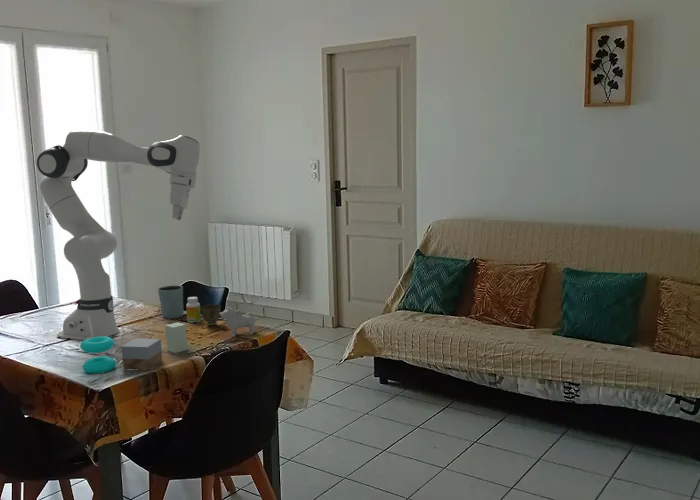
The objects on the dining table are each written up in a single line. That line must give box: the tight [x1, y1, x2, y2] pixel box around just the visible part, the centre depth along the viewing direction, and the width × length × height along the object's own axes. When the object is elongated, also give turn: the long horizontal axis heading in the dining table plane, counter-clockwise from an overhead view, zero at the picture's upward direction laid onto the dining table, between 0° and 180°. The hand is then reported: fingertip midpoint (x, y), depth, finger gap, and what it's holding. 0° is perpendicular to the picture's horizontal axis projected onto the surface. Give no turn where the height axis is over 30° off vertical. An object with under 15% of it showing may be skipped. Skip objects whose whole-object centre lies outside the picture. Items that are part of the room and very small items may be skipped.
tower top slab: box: [121, 338, 163, 360], centre depth 225 cm, size 9×9×4 cm
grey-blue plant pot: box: [157, 284, 185, 319], centre depth 290 cm, size 10×10×12 cm
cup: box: [200, 303, 221, 327], centre depth 272 cm, size 8×7×8 cm
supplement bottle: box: [185, 296, 202, 324], centre depth 280 cm, size 5×5×10 cm
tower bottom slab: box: [122, 351, 163, 371], centre depth 226 cm, size 9×9×4 cm
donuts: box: [80, 336, 116, 374], centre depth 223 cm, size 10×10×10 cm
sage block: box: [164, 322, 189, 354], centre depth 241 cm, size 5×5×9 cm
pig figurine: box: [219, 306, 256, 337], centre depth 259 cm, size 5×13×11 cm, turn 105°
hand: (176, 219), depth 250 cm, fingers open, 8 cm apart
